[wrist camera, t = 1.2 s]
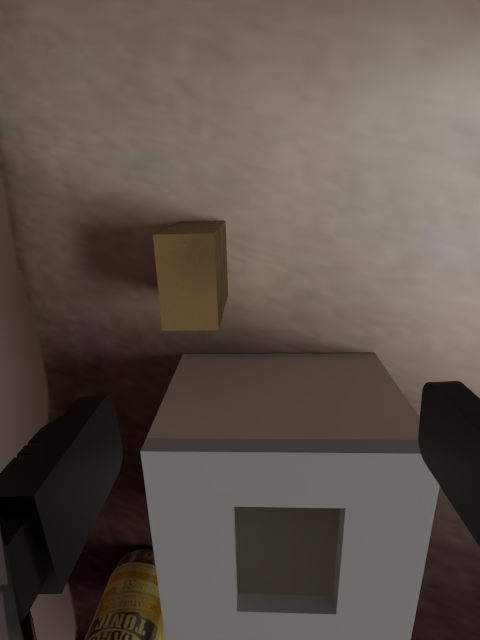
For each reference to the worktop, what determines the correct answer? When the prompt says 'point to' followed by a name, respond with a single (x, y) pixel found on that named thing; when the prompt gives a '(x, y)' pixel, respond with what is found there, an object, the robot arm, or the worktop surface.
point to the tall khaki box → (192, 275)
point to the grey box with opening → (287, 499)
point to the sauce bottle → (130, 602)
